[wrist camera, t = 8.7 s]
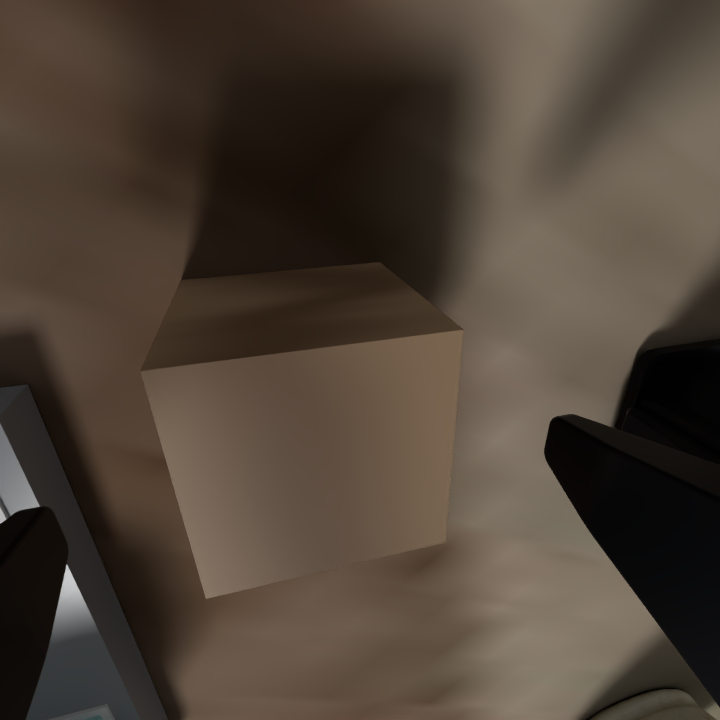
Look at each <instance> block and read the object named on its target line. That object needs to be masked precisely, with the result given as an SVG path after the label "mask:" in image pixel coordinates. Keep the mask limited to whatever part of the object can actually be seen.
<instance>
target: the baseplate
mask: <svg viewBox="0 0 720 720" xmlns="http://www.w3.org/2000/svg"><path fill="white" fill-rule="evenodd" d="M41 506H47V507H50V508H51V509H52V510H53V512H54V513H55V515H56V518H57V520H58V522H59V524H60V526H61V529H62V531H63V533H64V535H65V537H66V540H67V542H68V548H69V554H68V560H67V565H66V570H65V574H64V579H63V584H62V588H61V593H60V597H59V602H58V607H57V611H56V616H55V621H54V625H53V630H52V635H51V639H50V643H49V647H48V651H47V656H46V659H45V662H44V666H43V669H42V672H41V675H40V679H39V682H38V685H37V688H36V691H35V694H34V697H33V700H32V703H31V706H30V709H29V712H28V715H27V718H26V720H83V719H87V718H91V717H94V716H98V715H101V717H102V719H103V720H168V718H167V716H166V713H165V711H164V708H163V706H162V704H161V701H160V699H159V696H158V694H157V692H156V689H155V687H154V685H153V682H152V680H151V677H150V675H149V673H148V670H147V668H146V665H145V663H144V661H143V658H142V656H141V654H140V651H139V649H138V646H137V644H136V642H135V639H134V637H133V634H132V632H131V630H130V627H129V625H128V623H127V620H126V618H125V615H124V613H123V611H122V608H121V606H120V603H119V601H118V599H117V596H116V594H115V592H114V589H113V587H112V584H111V582H110V580H109V577H108V575H107V572H106V570H105V568H104V565H103V563H102V561H101V558H100V556H99V553H98V551H97V549H96V546H95V544H94V541H93V539H92V537H91V534H90V532H89V530H88V527H87V525H86V522H85V520H84V518H83V515H82V513H81V510H80V508H79V506H78V503H77V501H76V499H75V496H74V494H73V491H72V489H71V487H70V484H69V482H68V480H67V477H66V475H65V472H64V470H63V468H62V465H61V463H60V460H59V458H58V456H57V453H56V451H55V449H54V446H53V444H52V441H51V439H50V437H49V434H48V432H47V429H46V427H45V425H44V422H43V420H42V418H41V415H40V413H39V410H38V408H37V406H36V403H35V401H34V398H33V396H32V394H31V391H30V389H29V387H28V384H27V385H19V386H11V387H2V388H0V524H1V523H2V522H3V521H5V520H6V519H7V518H9V517H10V516H11V515H13V514H14V513H15V512H17V511H20V510H24V509H29V508H35V507H41Z"/></svg>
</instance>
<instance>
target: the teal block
mask: <svg viewBox="0 0 720 720" xmlns="http://www.w3.org/2000/svg"><path fill="white" fill-rule="evenodd" d="M83 720H103V719H102V717H101V715H98V716H94V717H91V718H87V719H83Z"/></svg>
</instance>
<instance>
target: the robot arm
mask: <svg viewBox="0 0 720 720" xmlns="http://www.w3.org/2000/svg"><path fill="white" fill-rule="evenodd" d="M544 454H545V458H546V461H547V463H548V465H549V467H550V468H551V470H552V471H553V473H554V475H555V476H556V478H557V480H558V481H559V483H560V485H561V486H562V488H563V490H564V491H565V493H566V495H567V496H568V498H569V500H570V501H571V503H572V504H573V506H574V508H575V509H576V511H577V513H578V514H579V516H580V518H581V519H582V521H583V522H584V524H585V525H586V527H587V528H588V530H589V531H590V533H591V534H592V536H593V537H594V538H595V540H596V541H597V542H598V544H599V545H600V547H601V548H602V549H603V551H604V552H605V553H606V555H607V556H608V557H609V559H610V560H611V561H612V563H613V564H614V565H615V567H616V568H617V569H618V571H619V572H620V574H621V575H622V576H623V578H624V579H625V580H626V582H627V583H628V584H629V586H630V587H631V588H632V590H633V591H634V592H635V594H636V595H637V596H638V598H639V599H640V601H641V602H642V603H643V605H644V606H645V607H646V609H647V610H648V611H649V613H650V614H651V615H652V617H653V618H654V619H655V621H656V622H657V624H658V625H659V626H660V628H661V629H662V630H663V632H664V633H665V634H666V636H667V637H668V638H669V640H670V641H671V642H672V644H673V645H674V646H675V648H676V649H677V651H678V652H679V653H680V655H681V656H682V657H683V659H684V660H685V661H686V663H687V664H688V665H689V667H690V668H691V669H692V671H693V672H694V673H695V675H696V676H697V678H698V679H699V680H700V682H701V683H702V684H703V686H704V687H705V688H706V690H707V691H708V692H709V694H710V695H711V696H712V698H713V699H714V700H715V702H716V703H717V705H718V706H719V707H720V339H718V340H711V341H704V342H698V343H691V344H684V345H677V346H671V347H664V348H657V349H651V350H649V351H647V352H645V353H644V354H643V355H642V356H641V357H640V358H639V360H638V362H637V364H636V367H635V371H634V374H633V378H632V381H631V384H630V388H629V391H628V394H627V398H626V401H625V405H624V408H623V411H622V415H621V418H620V422H619V425H618V428H617V429H615V428H612V427H609V426H606V425H603V424H601V423H598V422H595V421H592V420H589V419H586V418H583V417H580V416H578V415H574V414H568V415H562V416H557V417H554V418H553V419H552V420H551V421H550V424H549V429H548V434H547V439H546V443H545V448H544ZM68 554H69V548H68V542H67V540H66V537H65V535H64V533H63V531H62V529H61V526H60V524H59V522H58V520H57V518H56V515H55V513H54V512H53V510H52V509H51V508H50V507H47V506H41V507H35V508H29V509H24V510H20V511H17V512H15V513H14V514H13V515H11V516H10V517H9V518H7V519H6V520H5V521H3V522H2V523H1V524H0V720H26V718H27V715H28V712H29V709H30V706H31V703H32V700H33V697H34V694H35V691H36V688H37V685H38V682H39V679H40V675H41V672H42V669H43V666H44V662H45V659H46V656H47V651H48V647H49V643H50V639H51V635H52V630H53V625H54V621H55V616H56V611H57V607H58V602H59V597H60V593H61V588H62V584H63V579H64V574H65V570H66V565H67V560H68Z"/></svg>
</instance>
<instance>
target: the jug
mask: <svg viewBox="0 0 720 720" xmlns="http://www.w3.org/2000/svg"><path fill="white" fill-rule="evenodd" d="M590 720H716V719H715V718H714V717H712V716H711V715H710V714H709V713H707V712H706V711H705V710H703V709H702V708H700V707H699V706H698V705H697V704H696V702H695V701H694V700H693V698H692V697H691V696H690V695H689V694H687V693H686V692H684V691H682V690H678V689H660V690H655V691H650V692H646V693H643V694H641V695H638V696H635V697H632V698H630V699H628V700H625V701H622V702H619V703H618V704H616V705H614V706H611V707H609V708H607V709H605V710H603V711H601V712H599V713H597V714H596V715H595V716H593V717H592V718H591V719H590Z"/></svg>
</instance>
